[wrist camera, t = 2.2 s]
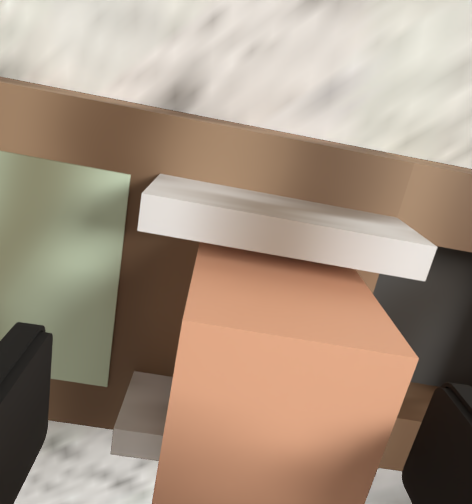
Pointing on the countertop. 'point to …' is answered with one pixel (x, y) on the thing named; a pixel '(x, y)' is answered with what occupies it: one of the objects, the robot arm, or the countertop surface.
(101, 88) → the countertop surface
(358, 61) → the countertop surface
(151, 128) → the track
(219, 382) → the block
